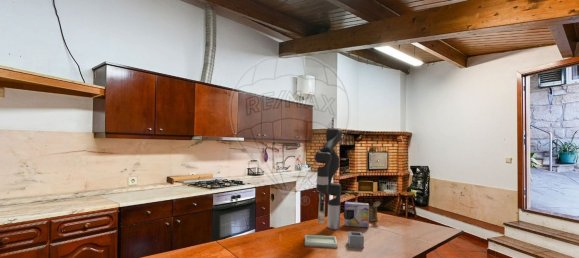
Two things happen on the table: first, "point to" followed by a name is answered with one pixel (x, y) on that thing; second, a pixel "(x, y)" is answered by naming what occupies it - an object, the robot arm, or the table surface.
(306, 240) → the sage tray
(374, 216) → the wooden mug
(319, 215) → the birch peg
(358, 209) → the cake pan box
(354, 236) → the grey cup
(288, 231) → the table surface
